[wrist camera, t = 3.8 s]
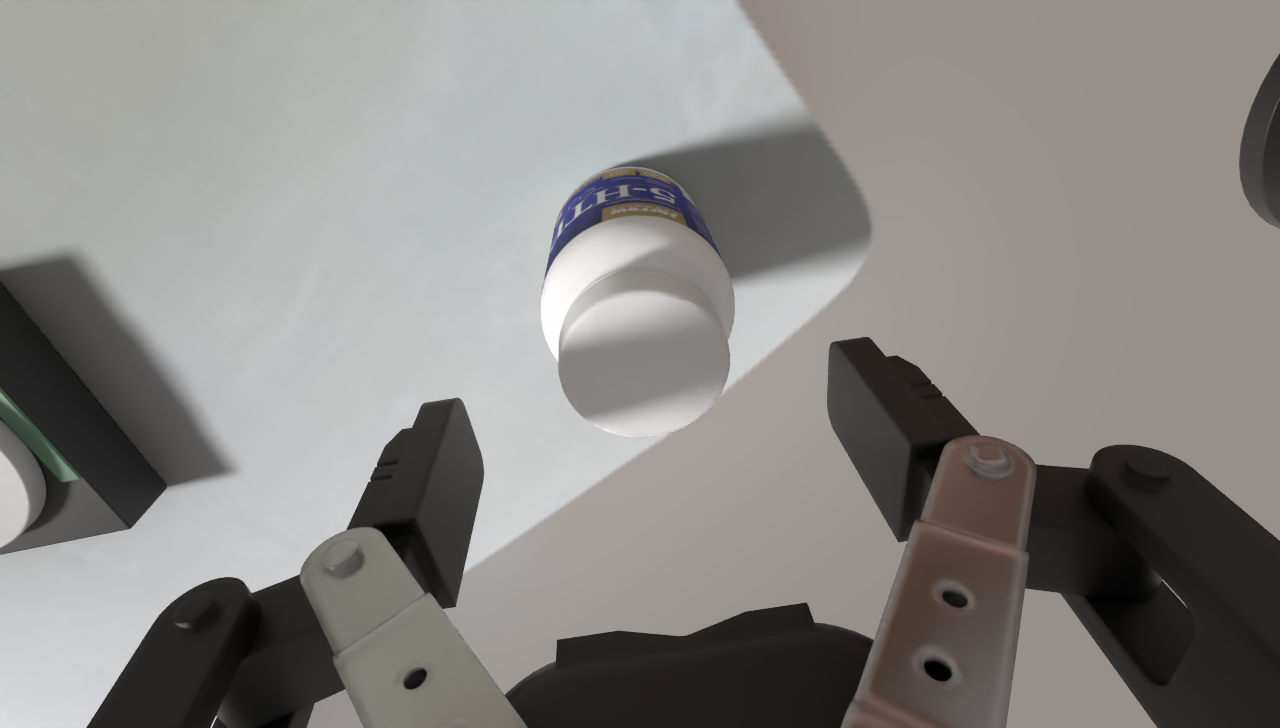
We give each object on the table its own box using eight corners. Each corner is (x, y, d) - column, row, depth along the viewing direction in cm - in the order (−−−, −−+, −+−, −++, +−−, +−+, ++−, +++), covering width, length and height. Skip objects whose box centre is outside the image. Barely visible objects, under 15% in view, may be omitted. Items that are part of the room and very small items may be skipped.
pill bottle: (668, 136, 20) (716, 218, 12) (722, 272, 22) (790, 411, 15) (524, 204, 20) (484, 322, 13) (593, 327, 23) (593, 487, 15)
